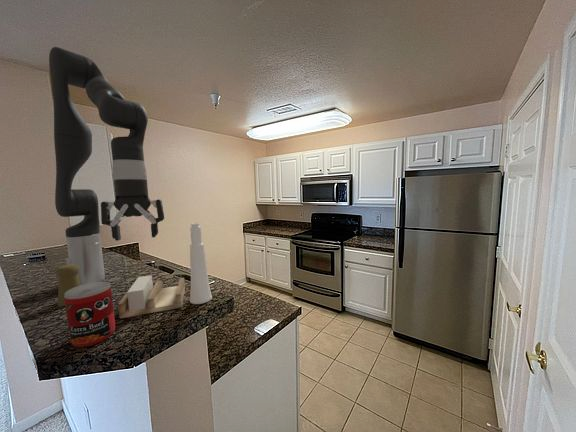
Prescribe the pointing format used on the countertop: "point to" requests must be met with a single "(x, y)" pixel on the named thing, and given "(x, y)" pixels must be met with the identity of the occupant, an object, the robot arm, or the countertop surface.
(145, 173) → the robot arm
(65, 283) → the cork
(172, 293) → the rack
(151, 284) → the white angular block
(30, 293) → the countertop surface
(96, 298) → the canned food
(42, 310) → the countertop surface
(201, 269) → the cosmetic bottle
